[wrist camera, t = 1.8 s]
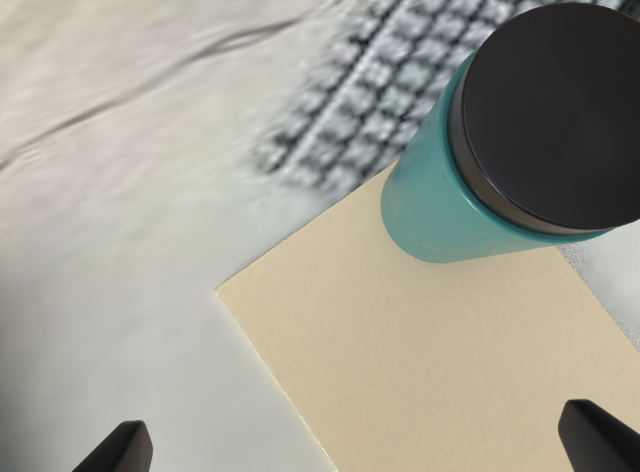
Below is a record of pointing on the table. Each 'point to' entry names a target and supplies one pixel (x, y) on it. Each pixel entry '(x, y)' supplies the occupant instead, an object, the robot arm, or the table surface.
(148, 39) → the table surface
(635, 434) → the robot arm
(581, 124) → the flask
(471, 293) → the cloth
